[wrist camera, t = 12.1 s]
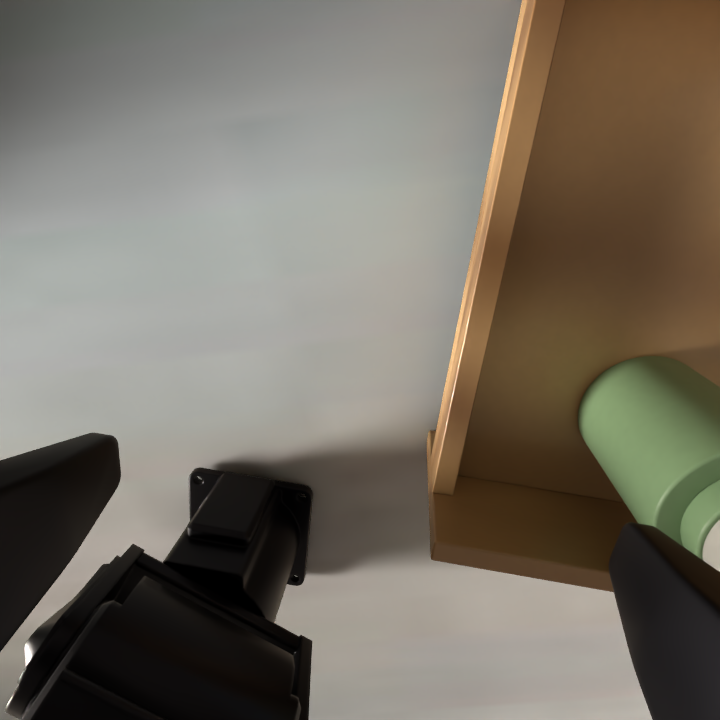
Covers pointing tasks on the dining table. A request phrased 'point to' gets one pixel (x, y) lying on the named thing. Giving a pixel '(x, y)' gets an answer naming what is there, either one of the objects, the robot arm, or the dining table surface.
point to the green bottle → (660, 446)
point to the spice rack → (578, 275)
